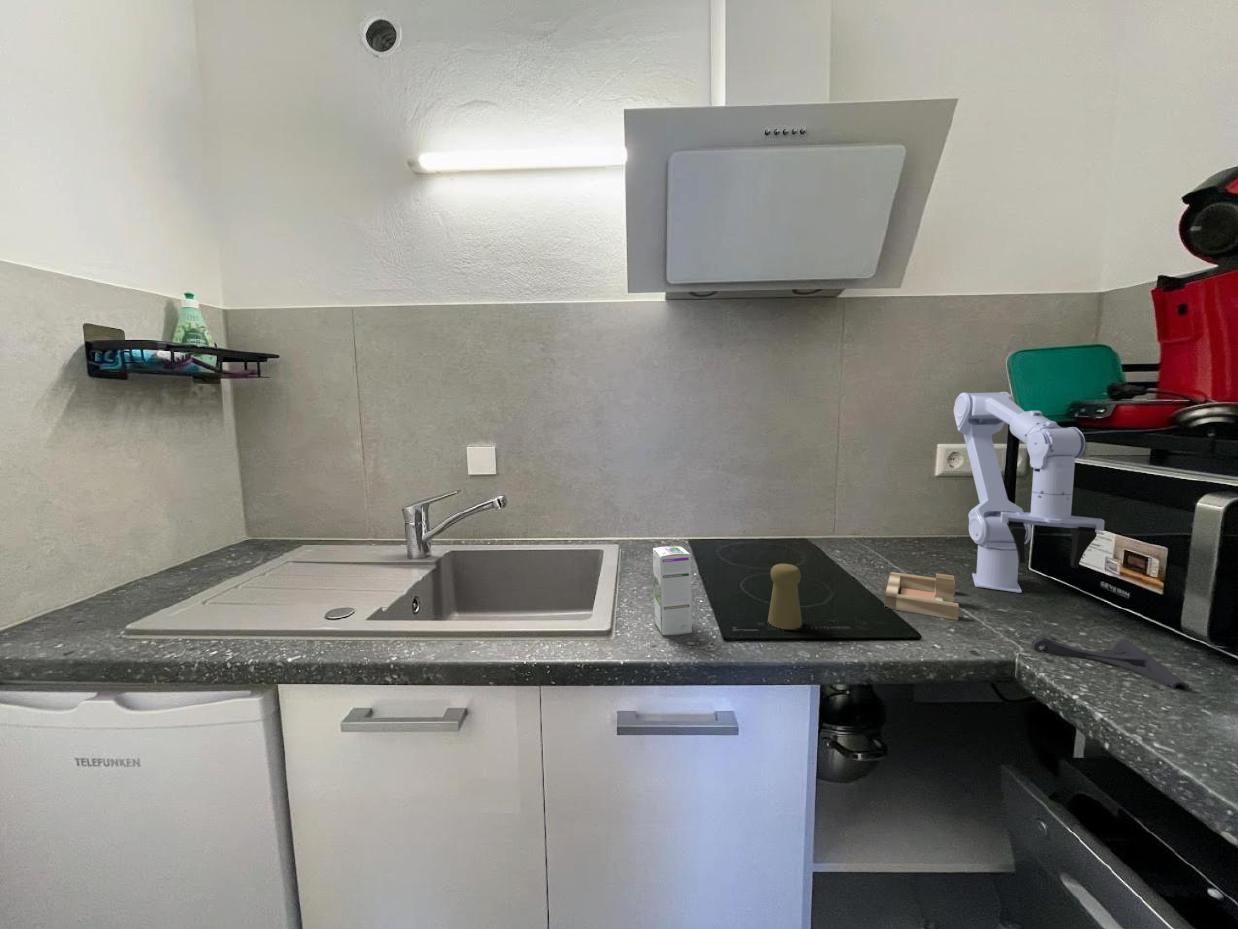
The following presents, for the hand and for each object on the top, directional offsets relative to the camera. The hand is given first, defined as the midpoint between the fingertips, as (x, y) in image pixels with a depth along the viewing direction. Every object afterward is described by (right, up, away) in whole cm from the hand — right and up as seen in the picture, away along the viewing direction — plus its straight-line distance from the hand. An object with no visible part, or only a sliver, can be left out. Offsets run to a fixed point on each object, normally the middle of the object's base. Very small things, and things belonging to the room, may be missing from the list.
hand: (1046, 563), depth 93 cm
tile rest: (-20, -9, +9) cm, 23 cm away
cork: (-51, -11, -3) cm, 52 cm away
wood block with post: (-16, -9, +7) cm, 20 cm away
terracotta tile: (-19, -10, +9) cm, 23 cm away
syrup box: (-71, -11, -4) cm, 72 cm away
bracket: (-7, -12, -17) cm, 22 cm away
